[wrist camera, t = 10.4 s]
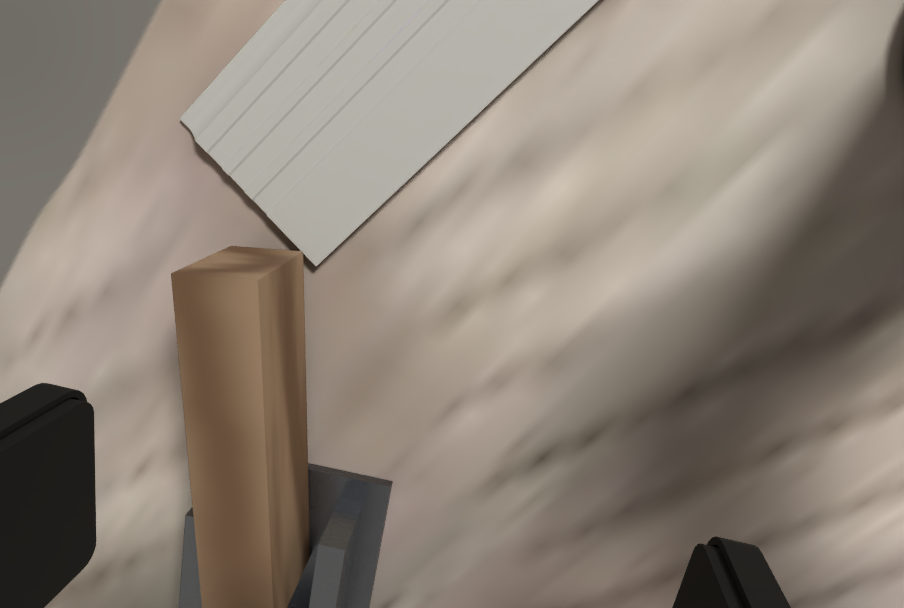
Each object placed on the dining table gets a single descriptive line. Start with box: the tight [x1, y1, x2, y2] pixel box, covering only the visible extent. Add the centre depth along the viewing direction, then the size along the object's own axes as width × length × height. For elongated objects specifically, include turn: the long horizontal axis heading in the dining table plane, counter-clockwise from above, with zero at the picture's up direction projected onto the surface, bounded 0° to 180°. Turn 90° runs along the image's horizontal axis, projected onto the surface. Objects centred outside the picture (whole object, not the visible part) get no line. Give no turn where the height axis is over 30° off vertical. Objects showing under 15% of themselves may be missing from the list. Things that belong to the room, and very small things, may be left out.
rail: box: [171, 246, 310, 608], centre depth 32 cm, size 4×20×6 cm, turn 177°
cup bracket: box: [179, 463, 393, 608], centre depth 37 cm, size 12×14×5 cm
